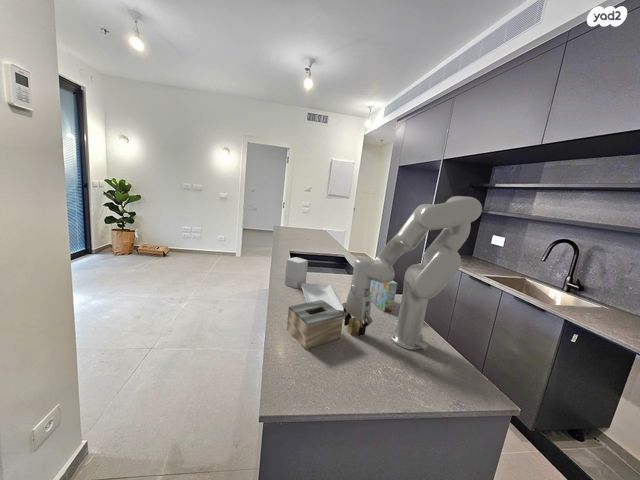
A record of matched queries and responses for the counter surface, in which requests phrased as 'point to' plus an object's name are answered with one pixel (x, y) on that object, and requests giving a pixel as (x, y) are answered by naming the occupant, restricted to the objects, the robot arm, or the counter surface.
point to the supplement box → (296, 272)
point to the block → (353, 326)
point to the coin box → (314, 323)
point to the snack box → (383, 294)
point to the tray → (321, 295)
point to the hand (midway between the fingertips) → (354, 329)
